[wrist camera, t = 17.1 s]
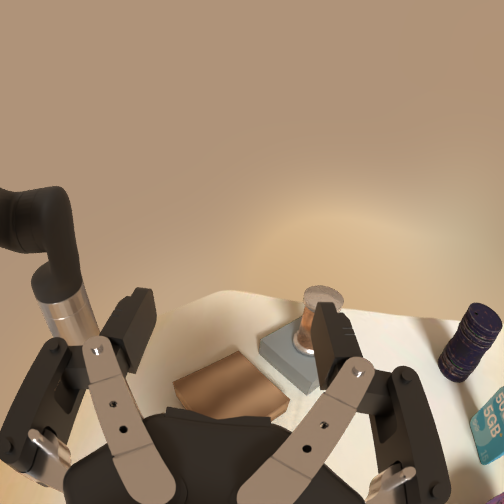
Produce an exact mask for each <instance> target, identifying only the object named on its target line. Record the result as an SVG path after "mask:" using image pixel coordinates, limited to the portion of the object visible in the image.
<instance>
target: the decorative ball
mask: <svg viewBox="0 0 504 504" xmlns="http://www.w3.org/2000/svg"><path fill="white" fill-rule="evenodd" d="M486 504H504V492H503V493H501V494H500V495H498V496H496V497H494V498H493V499H491V500H490V501H488V502H487V503H486Z"/></svg>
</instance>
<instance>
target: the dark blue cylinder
mask: <svg viewBox="0 0 504 504" xmlns="http://www.w3.org/2000/svg"><path fill="white" fill-rule="evenodd" d="M501 329H502V321H501V319H500V318H499V316H498V315H497V314H496V312H494V311H493V310H492V309H491V308H489V307H488V306H486V305H484V304H481V303H472V304H471V305H470V306H469V308H468V310H467V312H466V314H465V315H464V316H463V318H462V320H461V322H460V323H459V326H458V330H457V331H456V333H455V335H454V337H453V338H452V339H451V340H450V341H449V342H448V344H447V345H446V347H445V348H444V351H443V352H442V354H441V355H440V357H439V359H438V366H439V369H440V371H441V373H442V374H443V375H444V376H445V377H446V378H447V379H449V380H451V381H453V382H463V381H465V380H466V379H467V378H468V376H469V375H470V374H471V373H472V372H473V371H474V369H475V368H476V366H477V365H478V364H479V362H480V359H481V358H482V356H483V355H484V354H485V352H486V351H487V350H488V349H489V348H490V347H491V345H492V344H493V343H494V341H495V339H496V337H497V336H498V334H499V332H500V331H501Z"/></svg>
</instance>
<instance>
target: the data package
mask: <svg viewBox="0 0 504 504" xmlns="http://www.w3.org/2000/svg"><path fill="white" fill-rule="evenodd" d="M470 427H471V430H472V433H473V436H474V440H475V443H476V447H477V450H478V454H479V458H480V461H481V463H482V464H483V465H487V464H489V463H491V462H493V461H494V460H496V459H498V458H500V457H501V456H503V455H504V386H503V387H501V388H500V389H499V390H498V391H497V392H496V393H495V394H494V395H493V397H492V398H491V399H490V400H489V401H488V402H487V403H486V404H485V405H484V406H483V407H482V408H481V409H480V410H479V411H478V412H477V413H476V414H475V415H474V416H473V417H472V419H471V421H470Z"/></svg>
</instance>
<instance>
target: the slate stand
mask: <svg viewBox="0 0 504 504" xmlns="http://www.w3.org/2000/svg"><path fill="white" fill-rule="evenodd" d="M302 317H303V316H301V317H299V318H298V319H296V320H294V321H292V322H291V323H289V324H287V325H285V326H284V327H282V328H280V329H278V330H277V331H275V332H273V333H271V334H269V335H268V336H266V337H264V338H262V339H260V347H259V354H260V355H261V356H262V357H263V358H264V359H266V360H267V361H268V362H269V363H270V364H271V365H272V366H273V367H274V368H275V369H277V370H278V371H279V372H280V373H281V374H282V375H283V376H285V377H286V378H287V379H288V380H289V381H290V382H291V383H293V384H294V385H295V386H296V387H297V388H298V389H299V390H301V391H302V392H303V393H304V394H305V395H308V394H310V393H311V392H312V391H313V390H315V389H316V388H317V387H318V386H320V384H319V379H318V373H317V368H316V362H315V357H308V356H304V355H302V354H300V353H299V352H297V351H296V350H295V348H294V346H293V338H294V335H295V333H296V332H297V331H298V330H299V328H300V324H301V320H302Z"/></svg>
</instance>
